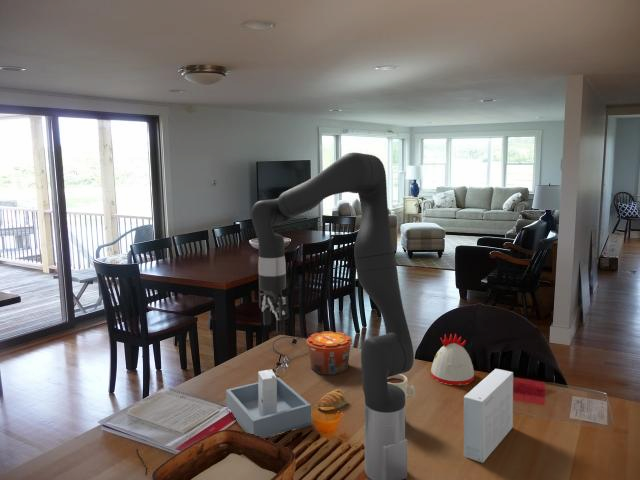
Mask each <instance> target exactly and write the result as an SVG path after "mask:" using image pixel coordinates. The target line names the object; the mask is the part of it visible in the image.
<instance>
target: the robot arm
mask: <svg viewBox="0 0 640 480" xmlns="http://www.w3.org/2000/svg"><path fill="white" fill-rule="evenodd" d="M343 193H351V194H358V195H357V196H358V197H359V203H360V211H361V216H360V217H361V218H360V225H359V229H358V233H357V235H356V239H355V243H354V247H353V248H354V251H353V255H354V263H355V270H356V275H357V280H358V282H359V284H360V286H361V287H362V289H363V291H365V293H366V294H367V296H368V297H370V299H371V301H372V302H373V303H374V304H375V306H376V307H377V308H378V310H379V312H380V314H381V317H382V320H383V324H384V329H385V334H382V335H376V336H373V337H368V338H366V339H365V340H364V341H363V343H362V345H361V350H360V363H361V381H362V383H361V384H362V391H363V395H364V472H365V475H366V477H368V478H369V479H370V480H405V479H407V478H408V439H407V438H406V421H405V417H406V402H405V393H404V391H403V390H402V389H401V388H399V387H397V386H395V385H392V384H388V382H387V377H390V376H394V375H398V374H404V373H407V372H409V371H411V369H412V368H413V365H414V361H415V355H414V346H413V342H412V337H411V334H410V331H409V324H408V322H407V318H406V315H405V314H406V313H405V310H404V305H403V299H402V294H401V289H400V288H401V287H400V283H399V277H398V276H399V274H398V268H397V261H396V254H395V249H394V243H393V237H392V229H391V223H390V222H391V221H390V216H389V208H388V207H389V205H388V187H387V174H386V168H385V165H384V163H383V161H381V159H380V158H379V157H377V156H375V155H373V154H368V153H362V152H350V153H346V154H344V155H342V156H341V157H340V158H337V160H335V161H334V162H333V163H331V164H330V165H329V166H327V167H326V168H325V169H323V170H321V172H319V173H317V174H316V175H314V176H313V177H311V178H310V179H308V180H306V181H304V182H302V183H300V184H298V185H296V186H294V187H292V188H290V189H288V190H286V191H283V192H281V194H280V195H279V196H278V197H277V198H274V199H265V200H263V199H262V200H258V201H257V202H255V203H254V205H252V209H251V216H250V217H251V222H252V226H253V229H254V232H255V236H256V239H257V241H258V263H257V264H258V268H257V269H258V307H259V309H261V312H262V316H263V317H262V318H263V322H262V323H263V325H264V326H269V325H272V313H273V314H274V315H275V318H276V320H275V321H276V323H275V324H276V326H275V327H276V333H277V334H282V333H283V334H284V333H286V325H285V324H286V321H285V320H287V319H289V318H290V310H289V309H290V308H289V297H288V296H283V293H282V292H283V290H285V289H286V288H287V269H286V268H287V267H286V265H287V264H286V263H287V262H286V257H285V239H284V236H283V235H282V234H280V233H279V234H278V233H275V232H274V229H273V226H279V225H283V224H285V223H287V222H289V221H291V220H293V219H294V218H295V217H297V216H299V215H302V214H304V213H306V212H308V211H311V210H313V209H315V208H316V207H317V206H318V205H319V204H320V203H321V202H322V201H323V200H325V199H327V198H328V197H331V196H334V195H338V194H343Z"/></svg>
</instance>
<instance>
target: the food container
mask: <svg viewBox="0 0 640 480" xmlns="http://www.w3.org/2000/svg"><path fill="white" fill-rule="evenodd" d="M306 345H307V347H308V355H309V359H310V367H311V369H312V370H313V371H314V372H316V373H318V374H321V375H337V374H341V373H344V372H345V371H346V370H347V369H348V367H349V360H350V352H351V346H352V345H353V338H351V337H350V336H349V335H347V334H346V333H343V332H341V331H336V332H334V331H332V330H331V331H330V330H329V331H326V330H325V331H321V332H315V333H313V334H311V335H310V336H309V337H308V338H307V339H306Z"/></svg>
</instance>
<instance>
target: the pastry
mask: <svg viewBox="0 0 640 480" xmlns="http://www.w3.org/2000/svg"><path fill="white" fill-rule="evenodd" d="M348 401H349V400H348V398H347V395H346V394H345V392H344V391H343V390H341V389H334V390H332V391H329V392H326V393H325V394H324V395H323V396H321V398H320V399H319V400H318V403H317V408H318V407H334V408H336V409H335V410H337V409H340V408H342V407H343V406H346V404H347V403H348Z"/></svg>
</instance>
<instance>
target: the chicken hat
mask: <svg viewBox="0 0 640 480" xmlns="http://www.w3.org/2000/svg"><path fill="white" fill-rule="evenodd" d="M439 338H440V340H441V343H442V346H441V347H440V349H438V351H437V352H436V354H435V355H434V359H433V361H432V364H431V367H430V369H431V370H430V376H431V375H432V377H433V378H434V379H436V380H438V381H439V382H443V383H447V384H452V385H459V384H466V383H470V382H472V381H473V380H474V379H475V371H474V365H473V363H472V359H471V357H470V355H469V353H468V352H467V349H465V347H464V346H465V344H466V339H464V340H463V342H461V341H462V336H459V337H458V336H457V334H456V333H455V334H454V336H453V335H452V333H450V335H449V339H448V337H447V334H446V333H445V334H444V339H442V337H439ZM432 377H431V378H432ZM433 378H432V379H433ZM434 379H433V380H434ZM439 382H438V383H439ZM473 382H474V381H473ZM473 382H472V383H473ZM470 384H471V383H470ZM452 385H451V386H452Z"/></svg>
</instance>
